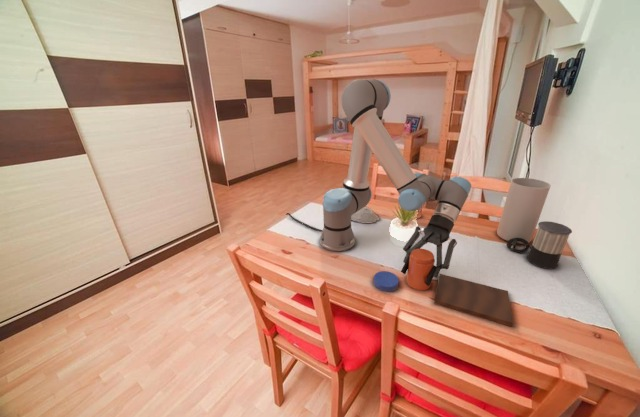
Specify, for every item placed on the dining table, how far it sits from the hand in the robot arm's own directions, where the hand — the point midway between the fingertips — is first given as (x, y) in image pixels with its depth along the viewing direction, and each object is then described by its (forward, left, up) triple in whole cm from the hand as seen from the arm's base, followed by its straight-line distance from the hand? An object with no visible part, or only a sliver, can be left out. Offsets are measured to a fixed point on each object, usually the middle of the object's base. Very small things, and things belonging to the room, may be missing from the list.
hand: (414, 278), depth 86 cm
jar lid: (-9, -2, -2) cm, 9 cm away
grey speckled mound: (-37, +44, -4) cm, 58 cm away
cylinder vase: (+33, +51, -4) cm, 61 cm away
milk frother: (+37, +37, -4) cm, 53 cm away
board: (+17, +2, -4) cm, 18 cm away
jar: (+1, +3, -4) cm, 5 cm away
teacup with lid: (-10, +57, -4) cm, 58 cm away
